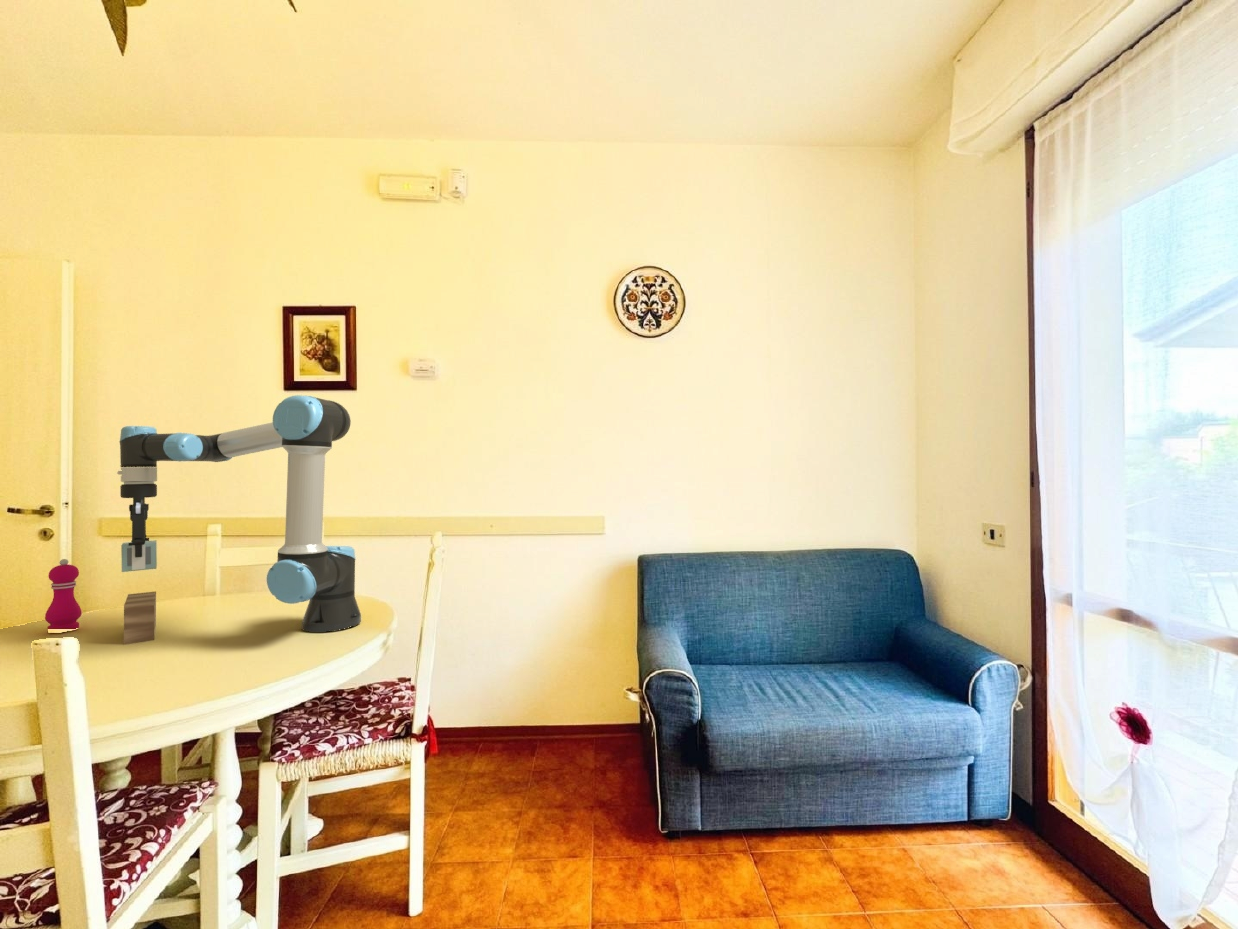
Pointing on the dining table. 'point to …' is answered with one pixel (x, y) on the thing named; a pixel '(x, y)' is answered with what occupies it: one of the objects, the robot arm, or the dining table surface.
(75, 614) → the pepper mill
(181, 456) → the robot arm
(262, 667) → the dining table surface
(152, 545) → the letter cube
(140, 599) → the walnut box
